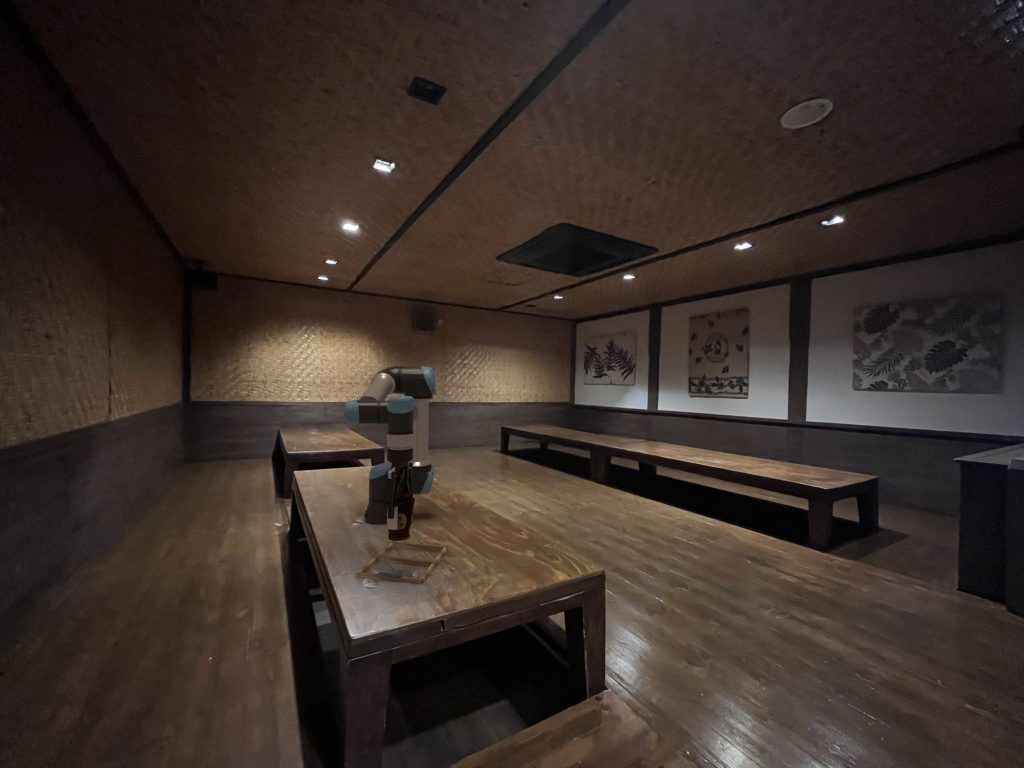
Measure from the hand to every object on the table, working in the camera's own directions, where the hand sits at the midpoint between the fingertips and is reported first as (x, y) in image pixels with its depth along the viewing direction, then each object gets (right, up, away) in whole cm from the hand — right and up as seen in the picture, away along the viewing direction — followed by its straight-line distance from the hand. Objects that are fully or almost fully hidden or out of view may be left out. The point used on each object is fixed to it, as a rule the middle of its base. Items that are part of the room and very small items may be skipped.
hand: (398, 523), depth 118 cm
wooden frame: (0, -15, +6) cm, 16 cm away
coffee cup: (0, -4, 0) cm, 5 cm away
